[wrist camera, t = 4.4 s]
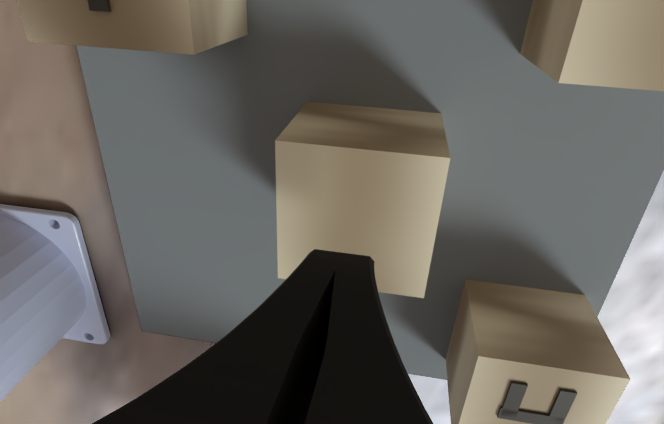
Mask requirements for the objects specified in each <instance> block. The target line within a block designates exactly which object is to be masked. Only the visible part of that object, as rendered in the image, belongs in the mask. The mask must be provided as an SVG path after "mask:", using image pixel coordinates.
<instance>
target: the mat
mask: <svg viewBox="0 0 664 424" xmlns="http://www.w3.org/2000/svg"><path fill="white" fill-rule="evenodd" d="M532 2H533V0H246V8H247V30H248V35H246V36H243V37H240V38H237V39H235V40H232V41H229V42H227V43H224V44H221V45H219V46H216V47H213V48H211V49H208V50H205V51H203V52H200V53H197V54H195V55H191V54H179V53H166V52H153V51H140V50H127V49H114V48H101V47H88V46H77V50H78V55H79V59H80V63H81V68H82V72H83V77H84V81H85V85H86V90H87V94H88V99H89V103H90V107H91V112H92V116H93V120H94V125H95V129H96V134H97V138H98V142H99V147H100V151H101V156H102V160H103V164H104V169H105V173H106V178H107V182H108V186H109V191H110V195H111V200H112V204H113V208H114V213H115V217H116V221H117V226H118V230H119V235H120V239H121V243H122V248H123V252H124V257H125V261H126V265H127V270H128V274H129V279H130V283H131V287H132V292H133V296H134V301H135V305H136V309H137V314H138V318H139V322H140V327H141V331H144V332H150V333H156V334H163V335H169V336H175V337H181V338H188V339H194V340H200V341H206V342H213V343H217V342H218V341H219V340H221V339H222V338H223V337H224V336H226V335H227V334H228V333H229V332H231V331H232V330H233V329H234V328H235V327H236V326H237V325H238V324H240V323H241V322H242V321H243V320H244V319H245V318H246V317H248V316H249V315H250V314H251V313H252V312H253V311H254V310H256V309H257V308H258V307H259V306H260V305H261V304H262V303H263V302H264V301H265V300H266V299H267V298H268V297H269V296H270V295H271V294H272V293H273V292H274V291H275V290H276V289H277V288H278V287H279V286H280V285H281V284H282V283H283V282H284V281H285V280H286V279H281V278H278V260H277V210H276V159H275V140H276V139H277V138H278V136H279V135H280V134H281V133H282V132H283V130H284V129H285V128H286V127H287V125H288V124H289V123H290V122H291V121H292V119H293V118H294V117H295V116H296V114H297V113H298V112H299V111H300V110H301V108H302V107H303V106H304V105H305V104H306V102H318V103H330V104H341V105H352V106H364V107H375V108H386V109H398V110H409V111H420V112H432V113H441V114H442V119H443V124H444V129H445V134H446V139H447V144H448V149H449V153H450V163H449V168H448V174H447V179H446V184H445V189H444V195H443V200H442V205H441V211H440V216H439V221H438V226H437V232H436V237H435V242H434V247H433V253H432V258H431V263H430V269H429V274H428V279H427V284H426V290H425V295H424V298H418V297H411V296H404V295H397V294H389V293H382V292H378V293H379V297H380V301H381V305H382V308H383V311H384V314H385V317H386V320H387V323H388V326H389V329H390V332H391V335H392V337H393V340H394V343H395V345H396V348H397V350H398V353H399V355H400V357H401V360H402V362H403V365H404V367H405V369H406V371H407V373H408V374H414V375H420V376H426V377H432V378H439V379H445V380H447V369H446V356H447V352H448V348H449V344H450V340H451V336H452V332H453V327H454V323H455V319H456V315H457V311H458V307H459V303H460V299H461V295H462V290H463V286H464V282H465V279H467V280H475V281H482V282H490V283H498V284H505V285H513V286H520V287H528V288H536V289H543V290H551V291H558V292H566V293H573V294H581V295H585V296H586V298H587V299H588V301H589V303H590V305H591V307H592V309H593V311H594V312H595V314H596V316H598V314H599V312H600V310H601V307H602V305H603V303H604V301H605V299H606V296H607V294H608V292H609V290H610V288H611V285H612V283H613V281H614V279H615V276H616V274H617V272H618V270H619V268H620V265H621V263H622V261H623V259H624V257H625V254H626V252H627V250H628V248H629V245H630V243H631V241H632V239H633V237H634V234H635V232H636V230H637V228H638V226H639V223H640V221H641V219H642V217H643V214H644V212H645V210H646V208H647V206H648V203H649V201H650V199H651V197H652V195H653V192H654V190H655V188H656V186H657V183H658V181H659V179H660V177H661V175H662V172H663V170H664V91H654V90H642V89H629V88H616V87H603V86H590V85H577V84H564V83H558V82H556V81H555V80H554V79H552V78H551V77H550V76H548V75H547V74H546V73H544V72H543V71H542V70H541V69H539V68H538V67H537V66H535V65H534V64H533V63H531V62H530V61H529V60H527V59H526V58H525V57H523V56H522V55H521V54H520V51H521V47H522V43H523V39H524V35H525V31H526V27H527V23H528V19H529V14H530V10H531V6H532Z"/></svg>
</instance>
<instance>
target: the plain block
mask: <svg viewBox="0 0 664 424" xmlns="http://www.w3.org/2000/svg"><path fill="white" fill-rule="evenodd" d="M275 159H276V210H277V260H278V278H281V279H287V278H288V277H289V276H290V275H291V273H292V272H293V271H294V270H295V269H296V268H297V267H298V266H299V265H300V263H301V262H302V261H303V260H304V259H305V258H306V256H307V255H308V254H309V253H310V252H311V251H313V250H314V249H318V250H326V251H333V252H341V253H349V254H357V255H365V256H370V257H371V258H372V259H373V260H374V272H375V279H376V285H377V289H378V292H382V293H389V294H397V295H404V296H411V297H418V298H424V295H425V290H426V284H427V279H428V274H429V269H430V263H431V258H432V253H433V247H434V242H435V237H436V232H437V226H438V221H439V216H440V211H441V205H442V200H443V195H444V189H445V184H446V179H447V174H448V168H449V163H450V153H449V149H448V144H447V139H446V134H445V129H444V124H443V119H442V114H441V113H432V112H420V111H409V110H398V109H386V108H375V107H364V106H352V105H341V104H330V103H318V102H306V104H305V105H304V106H303V107H302V108H301V110H300V111H299V112H298V113H297V114H296V116H295V117H294V118H293V119H292V121H291V122H290V123H289V124H288V125H287V127H286V128H285V129H284V130H283V132H282V133H281V134H280V135H279V136H278V138H277V139H276V140H275Z"/></svg>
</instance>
